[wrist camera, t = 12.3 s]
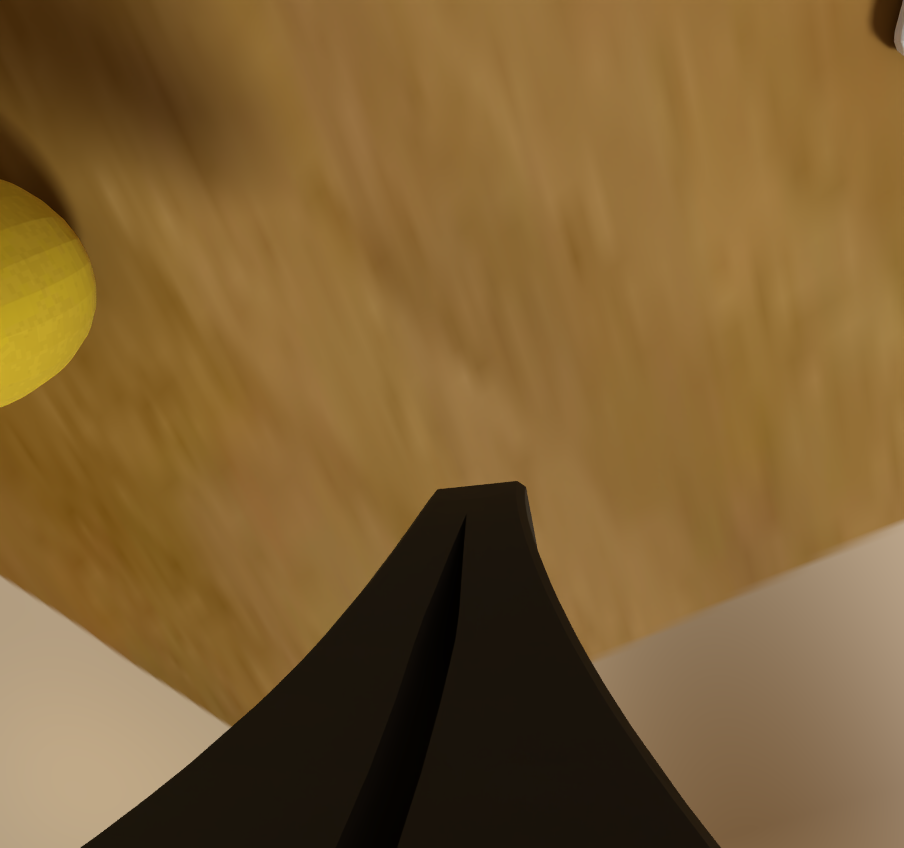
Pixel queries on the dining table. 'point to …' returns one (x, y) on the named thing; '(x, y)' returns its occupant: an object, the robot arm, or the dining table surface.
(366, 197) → the dining table surface
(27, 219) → the lemon
